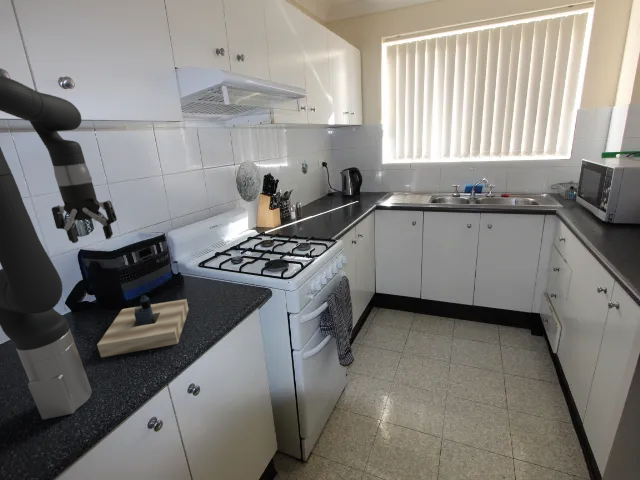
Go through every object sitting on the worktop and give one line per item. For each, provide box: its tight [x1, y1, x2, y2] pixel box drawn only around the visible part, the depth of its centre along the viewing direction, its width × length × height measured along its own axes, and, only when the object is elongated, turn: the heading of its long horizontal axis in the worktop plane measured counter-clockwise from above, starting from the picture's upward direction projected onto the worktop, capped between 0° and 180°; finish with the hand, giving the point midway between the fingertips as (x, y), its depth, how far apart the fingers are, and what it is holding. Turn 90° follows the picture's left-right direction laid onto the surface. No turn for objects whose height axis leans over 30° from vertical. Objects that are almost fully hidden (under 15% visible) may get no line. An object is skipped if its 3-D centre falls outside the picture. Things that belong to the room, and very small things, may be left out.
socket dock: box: [96, 298, 190, 358], centre depth 103 cm, size 20×20×4 cm
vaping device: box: [134, 294, 155, 326], centre depth 101 cm, size 3×5×12 cm, turn 88°
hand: (92, 240), depth 94 cm, fingers open, 8 cm apart
